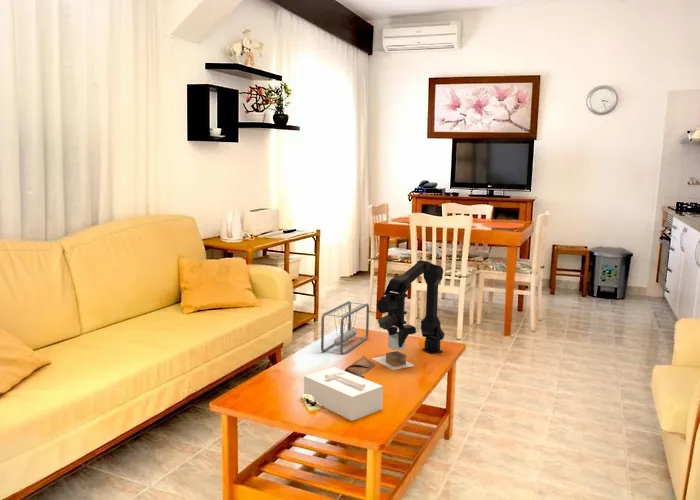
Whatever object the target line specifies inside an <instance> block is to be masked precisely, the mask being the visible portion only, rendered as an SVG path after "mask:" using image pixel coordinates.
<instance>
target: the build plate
mask: <svg viewBox="0 0 700 500" xmlns="http://www.w3.org/2000/svg"><path fill="white" fill-rule="evenodd" d="M371 359H372V360H373V361H376V362H377V363H379V364H381V365H383V366H385V367H387V368H388V369H390V370H393V371H395V370H399V369H405V368H409V367H415V364H413V363H410V362H409V361H407V360H406V364H405V365H400V366H395V367H394V366H392V365H390V364H388V363H386V355H383V356H382V355H381V356H377V357H371Z"/></svg>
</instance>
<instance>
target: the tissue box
mask: <svg viewBox="0 0 700 500" xmlns="http://www.w3.org/2000/svg"><path fill="white" fill-rule="evenodd" d="M383 390H384V386H383V385H381V384H378V383H376V382H374V381H371V380H368V379H365V377H364V378H361V377H359V376H356V375H353V374H351V373H348V372H346V371H345V370H343V369H341V368H338V367H335V366H334V367H333V366H332V367H330V368H326V369H323V370H320V371H319V370H318V371H317V372H313V373H310V374H306V375H303V395H304V394H310V395H312V396H313V397H314V398H315V400H316V401H317V402H318V403H319V404H321V405H322V406H324V407H325V408H324V407H323V408H324V409H326V408H327V409H326V410H328V409H329V410H328V411H330V410H331V411H330V412H332V411H333V412H332V413H334V412H335V413H334V414H336V413H337V415H338V414H339V416H340V415H341V417H342V416H343V417H342V418H344V419H347V420H349V421H352V422H353V421H355V420H358V419H361V418H363V417H366V416H368V415H371V414H374V413H376V412H379V411H381V410H383V402H384V400H383V395H384V393H383V392H384V391H383Z"/></svg>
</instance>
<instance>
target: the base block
mask: <svg viewBox="0 0 700 500" xmlns="http://www.w3.org/2000/svg"><path fill="white" fill-rule="evenodd" d="M385 356H386V363H388V364H390V365H392V366H394V367H395V366H400V365H405V364H406V361H407V354H405V353H403V352H401V351H399V350H394V351H390V352H385Z"/></svg>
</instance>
